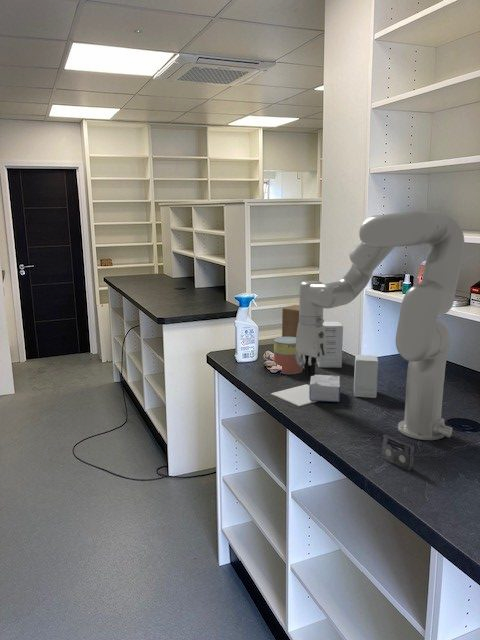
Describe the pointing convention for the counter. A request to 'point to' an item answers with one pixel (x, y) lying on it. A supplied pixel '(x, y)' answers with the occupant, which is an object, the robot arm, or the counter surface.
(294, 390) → the mat
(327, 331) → the supplement box
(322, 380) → the ink cartridge box
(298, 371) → the canned food
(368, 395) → the supplement box
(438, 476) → the counter surface
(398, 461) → the mini dv tape
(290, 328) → the wooden block
